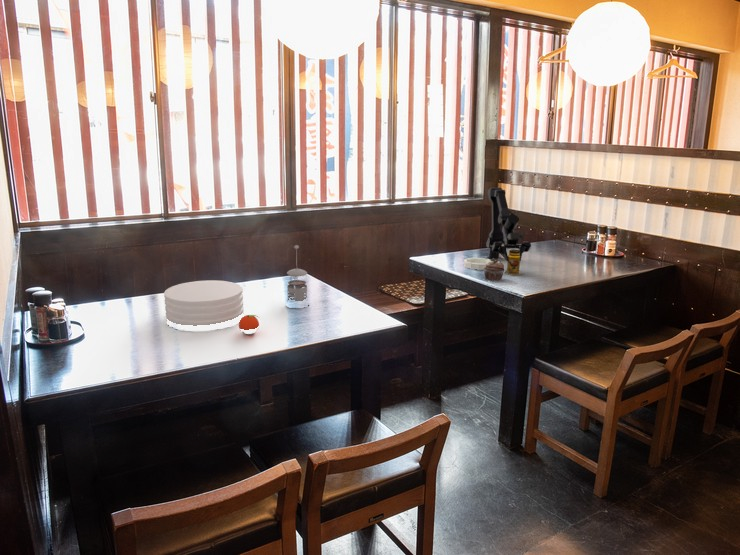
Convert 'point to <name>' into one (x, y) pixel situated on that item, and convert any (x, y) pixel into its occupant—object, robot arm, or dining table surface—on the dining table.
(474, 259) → the bowl
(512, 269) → the condiment
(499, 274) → the cupcake
